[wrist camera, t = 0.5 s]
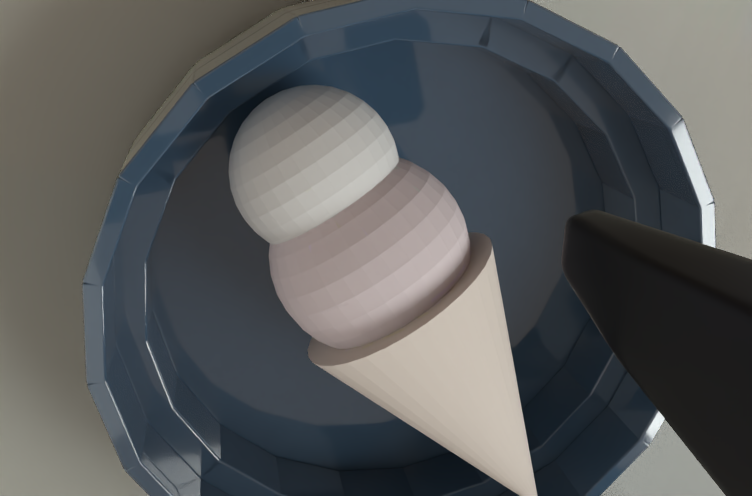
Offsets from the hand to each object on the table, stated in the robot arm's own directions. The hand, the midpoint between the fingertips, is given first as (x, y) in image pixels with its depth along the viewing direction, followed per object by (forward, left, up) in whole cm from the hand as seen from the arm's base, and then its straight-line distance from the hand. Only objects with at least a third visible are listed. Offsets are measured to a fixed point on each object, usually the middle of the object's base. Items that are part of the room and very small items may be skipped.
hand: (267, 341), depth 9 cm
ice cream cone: (-6, +3, -13) cm, 15 cm away
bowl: (-6, +3, -13) cm, 15 cm away
